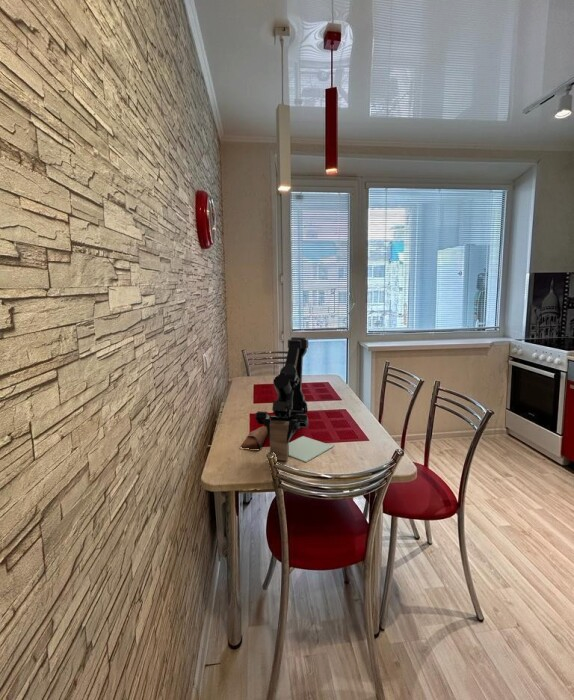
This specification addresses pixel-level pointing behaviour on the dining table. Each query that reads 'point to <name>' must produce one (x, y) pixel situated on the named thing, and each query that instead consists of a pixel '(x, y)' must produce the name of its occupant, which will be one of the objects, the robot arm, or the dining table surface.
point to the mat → (307, 448)
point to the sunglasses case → (255, 438)
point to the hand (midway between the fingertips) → (278, 441)
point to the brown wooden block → (279, 439)
